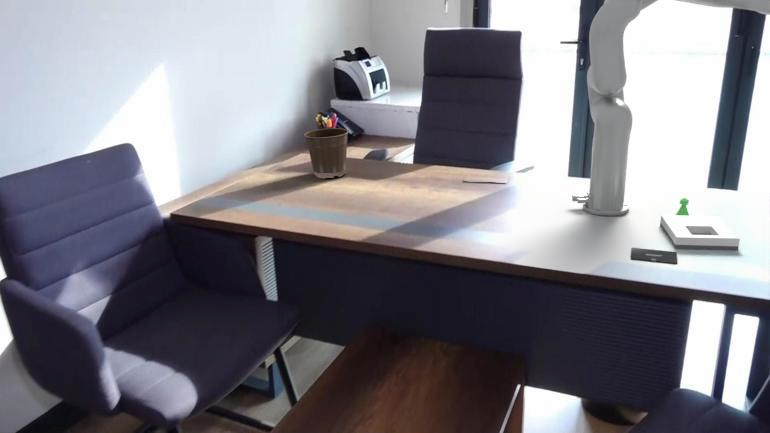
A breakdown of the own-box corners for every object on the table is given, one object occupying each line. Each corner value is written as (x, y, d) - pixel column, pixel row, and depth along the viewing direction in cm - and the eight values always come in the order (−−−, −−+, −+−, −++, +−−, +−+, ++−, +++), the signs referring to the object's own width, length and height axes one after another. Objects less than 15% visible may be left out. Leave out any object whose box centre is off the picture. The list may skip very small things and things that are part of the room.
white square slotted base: (675, 248, 148) (676, 237, 147) (659, 225, 163) (661, 215, 162) (738, 250, 145) (739, 238, 144) (716, 226, 160) (718, 216, 159)
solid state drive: (677, 266, 140) (677, 263, 140) (630, 261, 144) (630, 258, 143) (676, 254, 146) (676, 251, 146) (631, 250, 150) (631, 247, 149)
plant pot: (302, 181, 221) (298, 137, 216) (314, 169, 236) (310, 128, 231) (346, 181, 218) (342, 136, 213) (355, 169, 233) (352, 127, 228)
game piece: (672, 215, 170) (674, 195, 168) (689, 216, 168) (692, 195, 166) (674, 220, 166) (677, 200, 164) (691, 221, 164) (694, 200, 162)
